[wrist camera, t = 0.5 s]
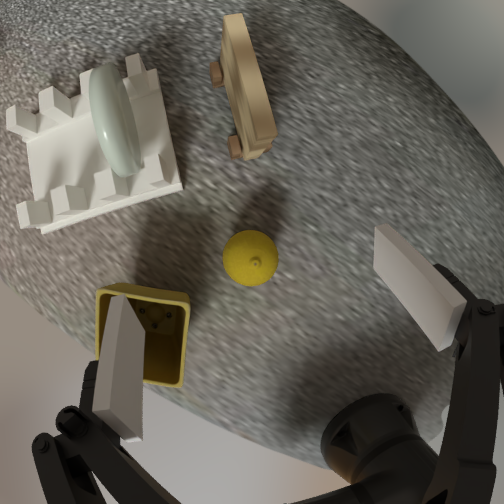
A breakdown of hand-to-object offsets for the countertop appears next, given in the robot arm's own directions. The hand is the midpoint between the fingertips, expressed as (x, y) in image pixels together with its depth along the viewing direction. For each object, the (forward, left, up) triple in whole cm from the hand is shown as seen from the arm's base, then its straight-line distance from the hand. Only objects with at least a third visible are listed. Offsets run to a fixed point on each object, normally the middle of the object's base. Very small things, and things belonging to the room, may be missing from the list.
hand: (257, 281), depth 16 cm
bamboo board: (+15, -4, -20) cm, 25 cm away
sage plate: (+15, +8, -18) cm, 25 cm away
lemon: (-1, -1, -21) cm, 21 cm away
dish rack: (+15, +13, -20) cm, 28 cm away
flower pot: (-5, +11, -21) cm, 24 cm away
